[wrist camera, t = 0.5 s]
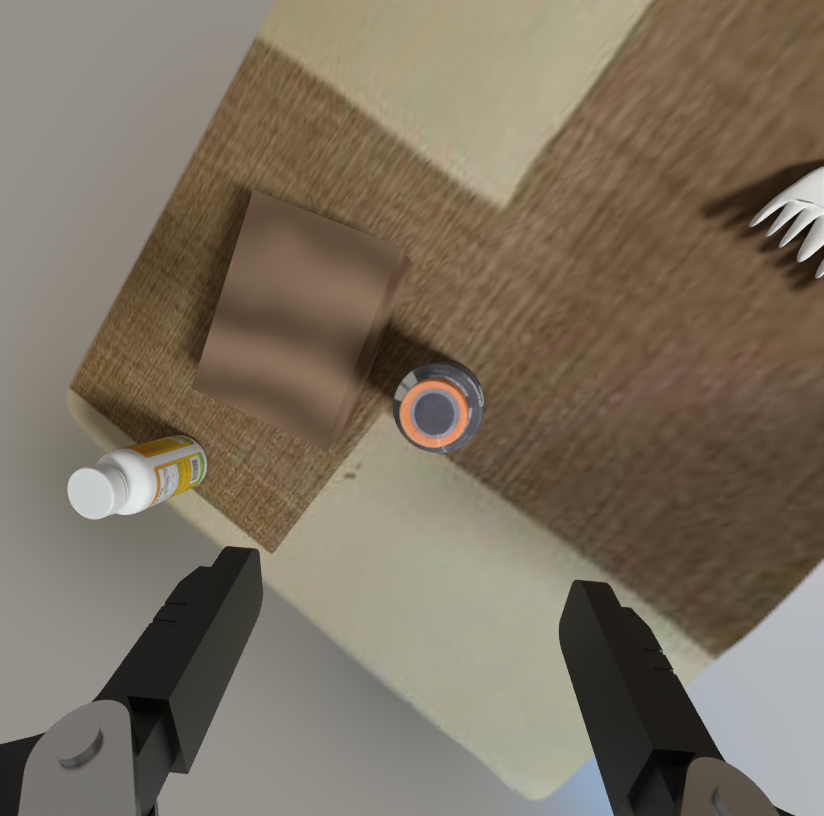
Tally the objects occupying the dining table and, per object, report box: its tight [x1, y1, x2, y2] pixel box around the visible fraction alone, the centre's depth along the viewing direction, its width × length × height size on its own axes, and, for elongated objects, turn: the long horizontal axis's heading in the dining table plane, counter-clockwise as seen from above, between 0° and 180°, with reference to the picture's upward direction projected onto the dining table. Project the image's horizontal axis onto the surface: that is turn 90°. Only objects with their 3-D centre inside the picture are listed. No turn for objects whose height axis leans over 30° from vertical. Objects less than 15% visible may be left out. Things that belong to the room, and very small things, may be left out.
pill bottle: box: [393, 361, 483, 453], centre depth 29 cm, size 6×6×11 cm
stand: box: [192, 189, 412, 449], centre depth 33 cm, size 16×12×5 cm
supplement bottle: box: [68, 435, 207, 519], centre depth 34 cm, size 5×5×10 cm
